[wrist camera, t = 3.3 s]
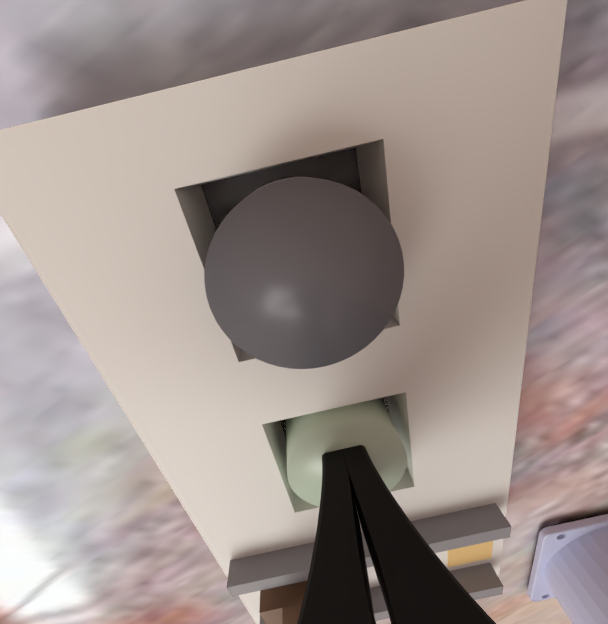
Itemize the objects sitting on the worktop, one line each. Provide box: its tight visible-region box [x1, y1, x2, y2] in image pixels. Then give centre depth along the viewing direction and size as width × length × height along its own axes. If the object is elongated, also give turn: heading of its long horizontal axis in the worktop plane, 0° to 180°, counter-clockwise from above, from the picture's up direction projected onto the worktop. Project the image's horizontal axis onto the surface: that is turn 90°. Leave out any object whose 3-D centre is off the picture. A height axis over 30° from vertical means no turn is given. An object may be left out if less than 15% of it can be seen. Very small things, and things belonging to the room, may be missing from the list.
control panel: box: [0, 0, 567, 624], centre depth 11 cm, size 12×22×3 cm, turn 12°
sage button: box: [285, 398, 407, 507], centre depth 11 cm, size 4×4×2 cm
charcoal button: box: [204, 176, 404, 369], centre depth 7 cm, size 4×4×2 cm
